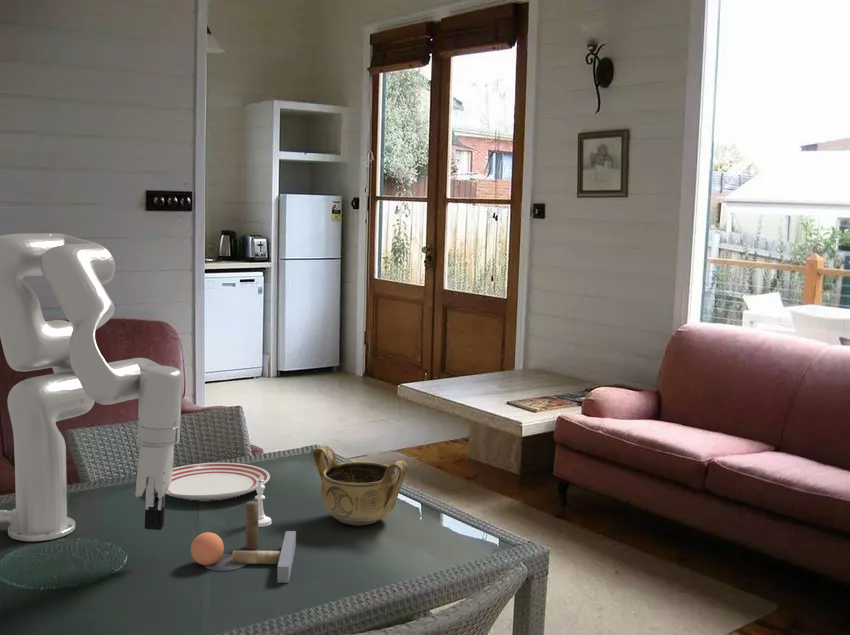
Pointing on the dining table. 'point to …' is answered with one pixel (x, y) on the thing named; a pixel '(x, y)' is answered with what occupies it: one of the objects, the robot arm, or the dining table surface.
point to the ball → (207, 548)
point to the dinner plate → (215, 480)
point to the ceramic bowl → (358, 487)
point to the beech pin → (256, 557)
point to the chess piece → (261, 505)
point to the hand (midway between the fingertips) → (154, 527)
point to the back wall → (286, 557)
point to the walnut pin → (252, 525)
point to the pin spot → (225, 564)
